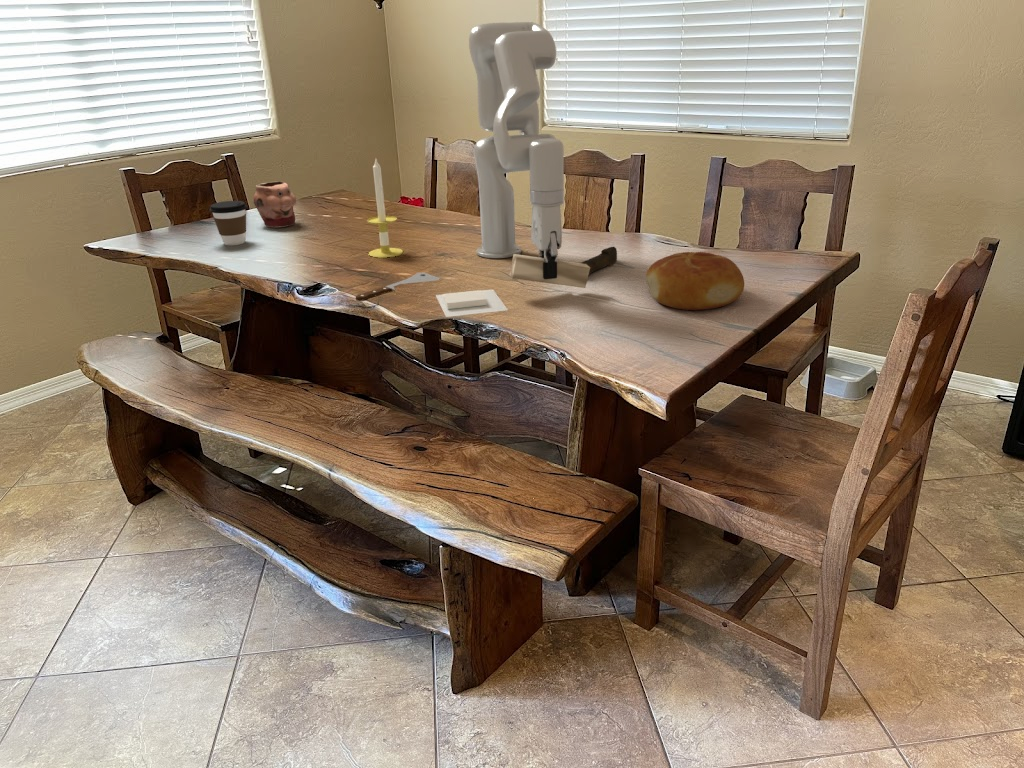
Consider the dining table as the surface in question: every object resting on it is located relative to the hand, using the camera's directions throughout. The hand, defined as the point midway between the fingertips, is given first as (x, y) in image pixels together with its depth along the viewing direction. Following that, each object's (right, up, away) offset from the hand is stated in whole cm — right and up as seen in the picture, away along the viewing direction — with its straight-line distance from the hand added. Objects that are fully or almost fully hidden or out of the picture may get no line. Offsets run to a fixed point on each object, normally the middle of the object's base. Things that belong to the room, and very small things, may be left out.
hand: (547, 275), depth 182 cm
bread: (+33, -6, -1) cm, 34 cm away
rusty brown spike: (+13, +4, +22) cm, 26 cm away
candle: (-45, +12, +43) cm, 63 cm away
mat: (-18, -7, -2) cm, 19 cm away
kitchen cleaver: (-36, -2, +12) cm, 38 cm away
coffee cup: (-94, +18, +60) cm, 113 cm away
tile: (-15, -5, -2) cm, 16 cm away
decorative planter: (-87, +28, +81) cm, 122 cm away
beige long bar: (0, -1, +1) cm, 1 cm away
